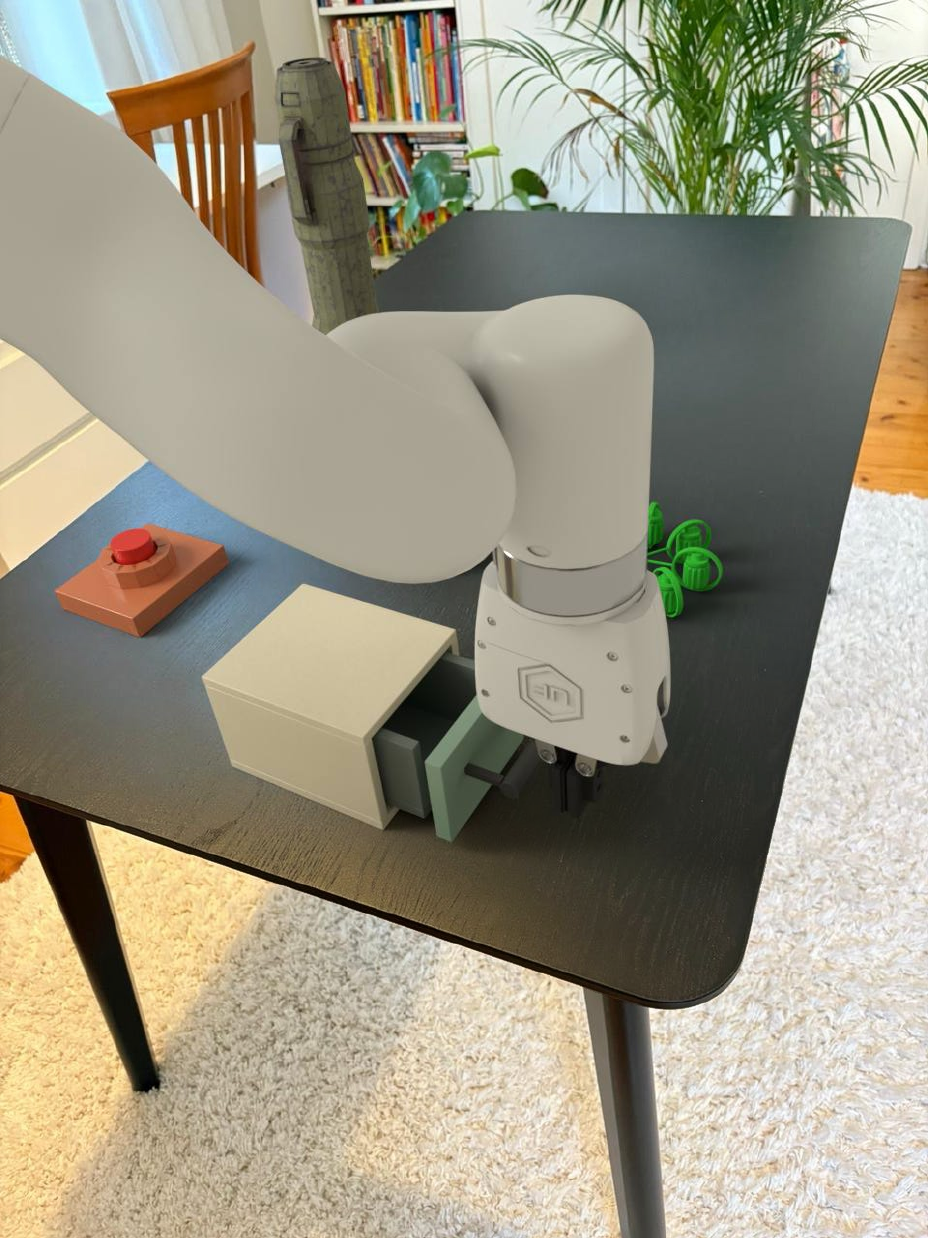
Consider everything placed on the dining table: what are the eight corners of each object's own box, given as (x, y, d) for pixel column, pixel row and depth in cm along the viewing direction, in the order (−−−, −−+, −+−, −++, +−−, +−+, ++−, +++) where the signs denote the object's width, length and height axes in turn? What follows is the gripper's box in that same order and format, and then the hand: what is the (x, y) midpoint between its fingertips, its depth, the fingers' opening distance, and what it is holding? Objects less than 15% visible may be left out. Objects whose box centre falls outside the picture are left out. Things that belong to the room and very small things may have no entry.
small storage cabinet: (467, 721, 74) (456, 629, 68) (383, 830, 66) (363, 737, 61) (323, 671, 80) (302, 582, 74) (232, 766, 72) (200, 676, 67)
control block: (140, 638, 85) (126, 602, 83) (62, 609, 90) (46, 574, 87) (229, 563, 93) (219, 529, 91) (153, 540, 98) (141, 507, 95)
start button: (136, 570, 87) (130, 554, 86) (107, 561, 89) (101, 545, 88) (163, 548, 90) (158, 533, 89) (135, 540, 91) (130, 524, 90)
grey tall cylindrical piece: (304, 389, 122) (240, 74, 100) (343, 350, 130) (292, 52, 108) (369, 394, 119) (317, 72, 97) (404, 353, 128) (364, 49, 106)
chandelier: (699, 648, 78) (705, 579, 74) (524, 613, 84) (520, 546, 79) (737, 545, 88) (745, 479, 84) (580, 519, 94) (579, 456, 90)
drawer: (575, 757, 69) (573, 681, 64) (506, 866, 62) (499, 790, 58) (381, 689, 76) (368, 617, 72) (301, 781, 69) (280, 707, 65)
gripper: (404, 562, 49) (442, 800, 61) (689, 640, 43) (671, 890, 54) (476, 488, 54) (499, 722, 66) (742, 548, 48) (715, 796, 59)
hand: (576, 798), depth 60 cm, fingers closed
